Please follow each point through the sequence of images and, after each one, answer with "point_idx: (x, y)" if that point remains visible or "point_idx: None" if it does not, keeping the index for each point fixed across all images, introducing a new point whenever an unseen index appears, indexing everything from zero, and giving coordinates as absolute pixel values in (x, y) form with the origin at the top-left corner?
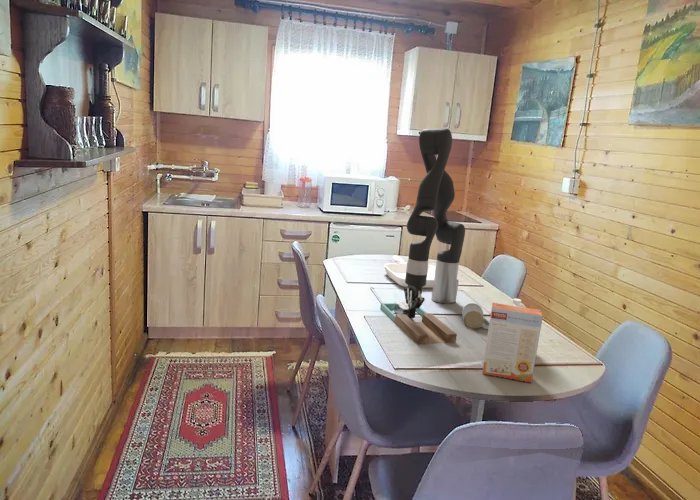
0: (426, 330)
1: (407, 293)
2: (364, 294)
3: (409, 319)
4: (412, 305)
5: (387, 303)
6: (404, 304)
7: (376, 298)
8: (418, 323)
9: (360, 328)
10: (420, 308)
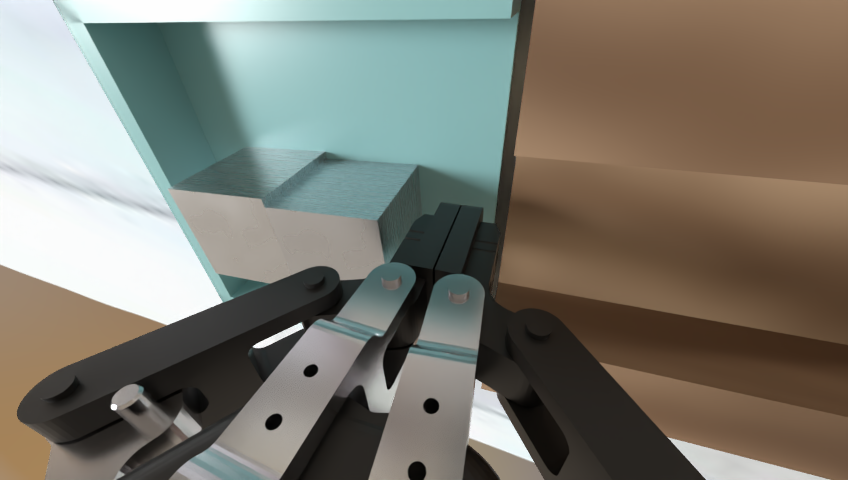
0: (810, 208)
1: (210, 412)
2: (44, 220)
3: (640, 379)
4: (505, 403)
5: (209, 270)
6: (250, 232)
7: (61, 188)
8: (566, 183)
9: (501, 441)
10: (223, 5)
